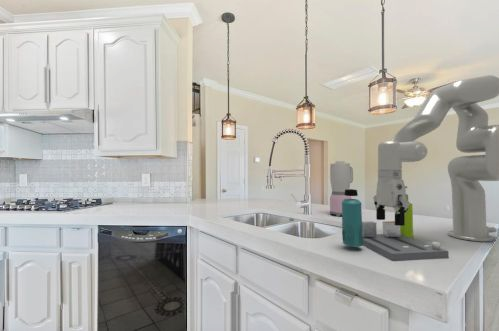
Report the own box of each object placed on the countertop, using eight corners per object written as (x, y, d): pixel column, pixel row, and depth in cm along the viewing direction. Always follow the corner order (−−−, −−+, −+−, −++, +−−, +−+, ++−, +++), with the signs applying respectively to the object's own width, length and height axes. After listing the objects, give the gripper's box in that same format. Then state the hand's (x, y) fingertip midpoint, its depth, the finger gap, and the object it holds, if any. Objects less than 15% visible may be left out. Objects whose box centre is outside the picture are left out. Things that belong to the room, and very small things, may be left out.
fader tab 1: (372, 234, 87) (372, 221, 87) (376, 236, 84) (376, 222, 85) (359, 235, 86) (359, 221, 87) (363, 237, 84) (363, 223, 84)
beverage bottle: (367, 250, 77) (366, 189, 78) (351, 252, 75) (349, 190, 76) (353, 244, 83) (352, 188, 84) (337, 246, 82) (336, 188, 82)
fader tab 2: (395, 234, 87) (395, 220, 87) (400, 236, 84) (400, 222, 85) (382, 235, 86) (382, 221, 87) (387, 237, 84) (387, 222, 84)
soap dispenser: (393, 233, 98) (392, 185, 98) (413, 236, 93) (412, 185, 94) (391, 236, 93) (390, 186, 94) (412, 239, 89) (410, 186, 89)
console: (398, 238, 90) (398, 228, 90) (448, 257, 70) (448, 244, 70) (354, 240, 88) (354, 230, 88) (392, 260, 68) (392, 246, 68)
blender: (339, 217, 132) (338, 160, 133) (325, 214, 143) (324, 161, 144) (361, 215, 137) (360, 161, 138) (346, 212, 148) (345, 161, 149)
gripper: (418, 175, 78) (418, 227, 77) (383, 175, 95) (383, 217, 94) (397, 175, 77) (397, 228, 76) (365, 174, 94) (365, 217, 94)
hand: (389, 222), depth 85 cm, fingers open, 9 cm apart
